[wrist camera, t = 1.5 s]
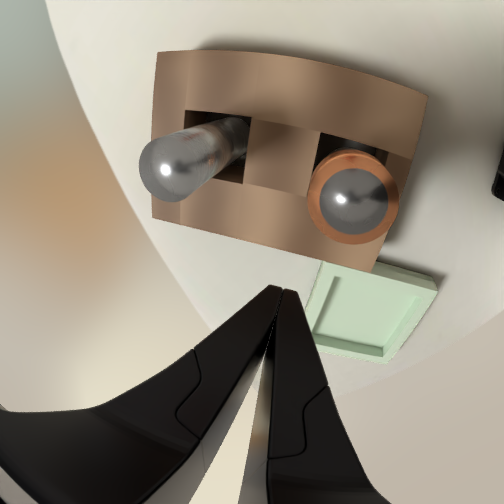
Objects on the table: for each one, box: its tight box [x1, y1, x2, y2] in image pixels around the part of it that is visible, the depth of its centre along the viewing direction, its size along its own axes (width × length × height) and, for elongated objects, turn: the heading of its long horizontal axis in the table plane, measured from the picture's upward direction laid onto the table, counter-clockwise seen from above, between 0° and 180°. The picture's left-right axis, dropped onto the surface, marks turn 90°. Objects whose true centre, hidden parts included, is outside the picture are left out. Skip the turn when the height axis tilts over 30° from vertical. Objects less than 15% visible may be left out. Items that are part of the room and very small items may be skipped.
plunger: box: [307, 147, 399, 245], centre depth 13 cm, size 4×4×5 cm
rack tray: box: [304, 260, 438, 364], centre depth 23 cm, size 10×10×2 cm
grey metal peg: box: [139, 117, 250, 202], centre depth 15 cm, size 3×3×9 cm
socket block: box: [151, 50, 428, 273], centre depth 17 cm, size 16×12×4 cm
